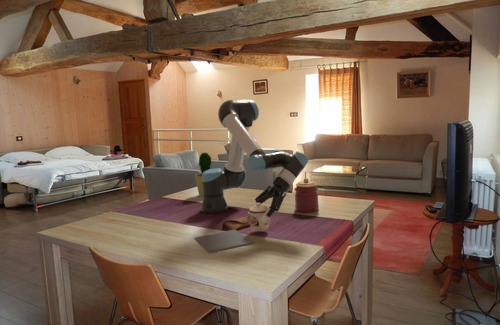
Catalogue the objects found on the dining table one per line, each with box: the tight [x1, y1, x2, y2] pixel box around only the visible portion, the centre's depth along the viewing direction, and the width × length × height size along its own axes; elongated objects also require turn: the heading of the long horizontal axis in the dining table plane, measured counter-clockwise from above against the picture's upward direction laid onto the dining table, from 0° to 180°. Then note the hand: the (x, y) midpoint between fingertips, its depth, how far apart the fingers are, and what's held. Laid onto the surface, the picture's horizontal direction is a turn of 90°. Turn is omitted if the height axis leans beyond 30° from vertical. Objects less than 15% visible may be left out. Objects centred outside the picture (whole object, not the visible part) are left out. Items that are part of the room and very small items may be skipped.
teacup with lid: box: [248, 203, 271, 231], centre depth 171 cm, size 12×9×12 cm
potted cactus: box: [194, 152, 212, 198], centre depth 253 cm, size 15×15×30 cm
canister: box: [293, 177, 320, 213], centre depth 206 cm, size 13×13×18 cm
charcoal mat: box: [194, 230, 255, 254], centre depth 164 cm, size 20×20×1 cm
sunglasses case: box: [222, 214, 250, 231], centre depth 185 cm, size 18×7×7 cm
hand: (255, 218), depth 170 cm, fingers closed on teacup with lid, 12 cm apart
